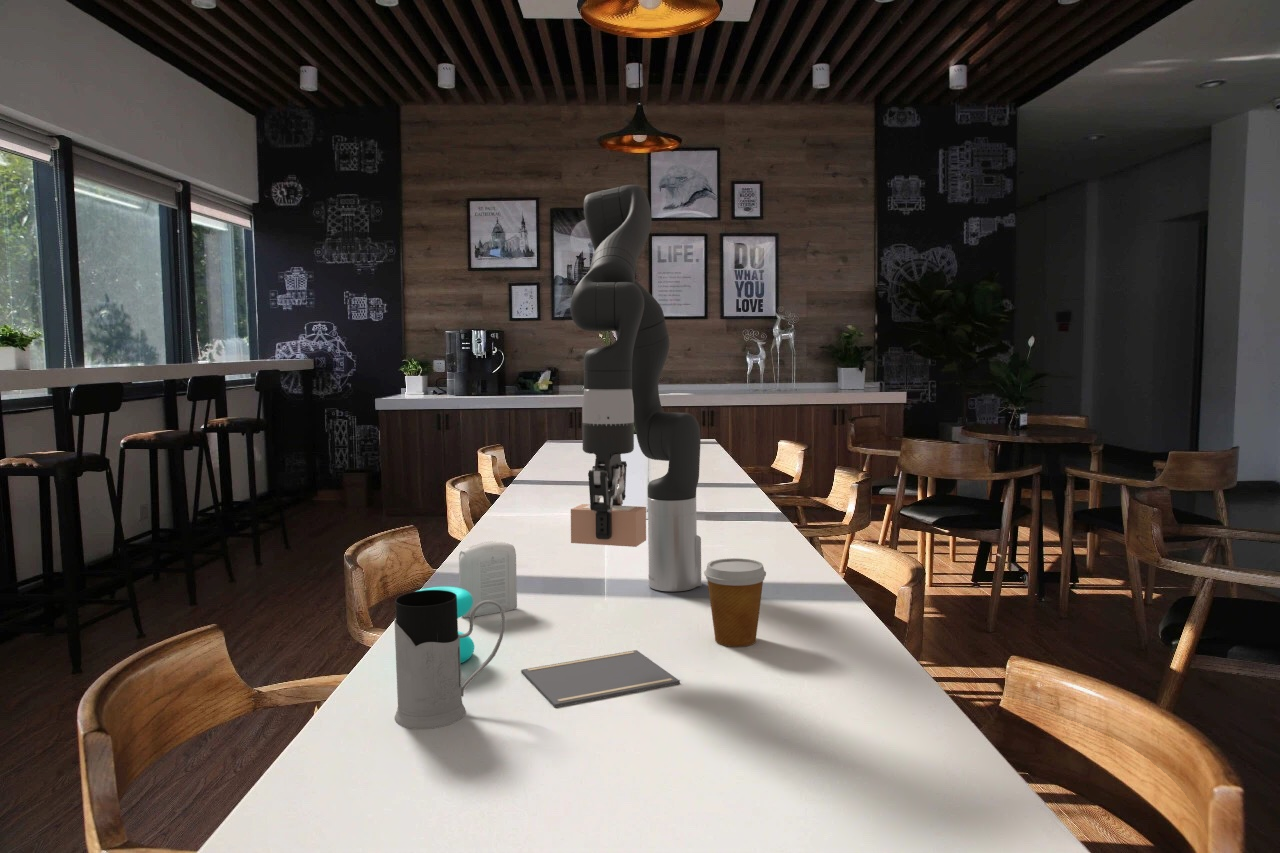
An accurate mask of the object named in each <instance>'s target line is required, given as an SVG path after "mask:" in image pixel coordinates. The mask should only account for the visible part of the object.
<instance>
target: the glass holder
mask: <svg viewBox="0 0 1280 853" xmlns="http://www.w3.org/2000/svg"><path fill="white" fill-rule="evenodd" d="M394 602H395V603H394V607H395V618H394V620H393V621H394V641H395V642H394V644H395V664H396V665H395V669H396V689H397V690H396V693H397V696H396V697H397V708H396V713H395V715H394V722H395V723H396V724H397V725H398V726H401V727H402V728H403V727H404V728H406V729H412V730H413V729H415V730H429V729H436V728H438V729H439V728H442V727H447V726H449V725H452V724H454V723H456V722H458V721H460V720H461V719H462V718H463V717H464V716H465V715H466V714H467V713H466V712H467V710H466V707H465V705H464V703H463V697H464V696H465V693H464V692H465V689H466V688H467V686H469V684H470V683H471V681H473V680H474V679H475V678H476V677H477V675H479V674H480V673H481V672H482V671H483V670H484V669H485V668H486V666H488V664H489V663H490V662H491V661H492V660H493V659H494V657H495V656H496V654H497V653H498V651H499V648H500V646H501V643H502V641H503V638H504V633H505V628H506V627H505V626H506V625H505V623H506V621H505V620H506V617H505V611H504V610H503V609H502V607H501V606H500V604H498V603H497V602H495V601H491V600H484V601H481V602H479V603H478V604H477V605H476V606H475V607H474V608H473V610H472V612H471V615H470V617H469V629H468V631H467V632H465V633H464V634H460V635H459V634H458V631H459V626H458V625H459V624H458V623H459V622H458V620H459V618H457V595H456V594H455V593H453V592H450V591H443V590H424V591H418V590H416V592H415V591H412V592H408V593H404V594H401V595H399V596H397V597H396V598H395V600H394ZM486 603H491V604H495V605H496V606H498V607H499V609H500V611H501V612H500V615H501V620H500V621H501V622H500V632H499V637H498V639H497V642H496V644H495V646H494V647H493V650H492V652H491V653H490V654H489V656H488V657H487V658H486V659H485V661H484V662H483V663H482V664H481V665H480V666H479V667H478V668H477V669H476V670H475V671H474V672H473V673H472V674H471V675H469V677H468V678H467V679H466V680H465V681H464V683H463V684H462V674H461V673H462V670H461V668H462V667H461V663H460V638H464V637H467V636H469V637H470V635H471V634H472V632H473V630H474V617H475V616H474V615H475V612H476V611H477V609H478V608H479V607H480V606H481V605H483V604H486Z"/></svg>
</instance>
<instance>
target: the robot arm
mask: <svg viewBox="0 0 1280 853" xmlns="http://www.w3.org/2000/svg"><path fill="white" fill-rule="evenodd" d="M583 213H584V219H585V223H586V227H587V232H588V234H589V238H590V241H591V244H592V247H593V251H594V253H593V255H592V257H591V262H590V266H589V270H588V272H587V273H586V274H585V275H584V276H583V277H582V278H581V280H580V281H579V282H578V284H577V285H576V286H575V288H574V290H573V293H572V296H571V299H570V303H569V305H570V307H569V309H570V316H571V320H572V321H573V323H574V324H575V325H576V326H577V327H578V328H579V329H581V330H582V331H586V332H615V337H616V340H615V341H614V342H612V343H611V344H608V345H604V346H600V347H595V348H592V349H591V348H590V349H588V350H587V351H586V352H585V354H584V357H583V398H582V407H581V408H582V409H581V410H582V415H581V416H582V422H581V423H582V427H581V428H582V430H581V432H582V451H583V452H584V453H585V454H589V455H590V454H591V455H592V454H594V455H595V459H594V460H595V462H594V465H593V466H592V468H591V469H589V470H588V473H587V476H588V488H589V490H588V492H589V504H590V508H591V510H594V513H596V538H597V539H610V538H611V536H612V505H615V506H623V504H624V501H625V499H626V497H627V496H626V485H627V467H628V465H627V464H628V463H627V461H624V460H622V457H621V456H622V455H626V454H631V453H632V452H634V449H635V434H636V439H637V444H638V446H639V448H640V451H641V452H642V455H644V456H645V457H646V458H647V459H650V460H655V461H663V462H664V461H665V462H668V467H667V472H666V474H664V475H663V476H661V477H658V478H655V479H653V480H650V481H649V483H648V484H647V535H648V536H647V537H648V544H647V545H648V549H647V550H648V586H649V588H651V589H653V590H656V591H662V592H683V591H689V590H693V589H695V588H697V587H701V586H702V537H701V536H700V535H698V534H697V532H698V531H697V525H698V524H697V488H698V483H699V480H700V464H701V463H700V462H701V461H700V460H701V439H702V438H701V429H700V424H699V421H698V420H697V418H696V417H695V416H694V415H692V414H691V413H688V412H679V411H677V412H672V411H664V410H663V408H662V404H661V400H660V399H661V398H660V393H659V382H660V378H661V375H662V372H663V369H664V366H665V365H666V364H665V363H666V361H667V357H668V355H669V351H670V337H669V333H668V328H667V323H666V318H665V314H664V310H663V308H662V306H661V305H660V303H659V302H658V301H657V299H656V298H655V297H654V296H653V295H652V294H651V293H650V292H649V290H647V289H646V288H645V287H644V286H643V285H642V284H641V283H640V282H639V281H638V280H637V279H636V272H637V271H636V270H637V264H638V258H639V257H640V254H641V253H642V250H643V248H644V247H645V245H646V242H647V240H648V238H649V236H650V232H651V229H652V210H651V206H650V202H649V199H648V196H647V193H646V191H645V190H644V189H643V187H642V186H640V185H639V184H626V185H621V186H617V187H612V188H609V189H604V190H598V191H595V192H591V193H588V194H586V195H585V197H584V200H583ZM601 499H603V502H602V501H600V500H601Z"/></svg>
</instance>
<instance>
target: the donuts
mask: <svg viewBox="0 0 1280 853" xmlns="http://www.w3.org/2000/svg"><path fill="white" fill-rule="evenodd" d="M424 590H443V591H450V592H453V593H455V594H456V595H457V619H459V618H461V617H463V615H465V614H466V613H467V612H468V611H469V610H470V609H471V607H472V604H473V598H472V596H471V594H470V593H469V592H468V591H466V590H464V589H462V588H460V587H457V586H433V587H427V588H421V589H418V590H416V591H424ZM416 591H414V592H416ZM458 634H459V635H460V634H465V633H464V632H462V631H459V630H458ZM474 652H475V642H474V641H473V639H472V638H471V637H470V635H469V636H467V637H464V638H460V664H462V663H464V662H466V661H467V660H469V659H470V658H471V657H472V656H473V654H474Z"/></svg>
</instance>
